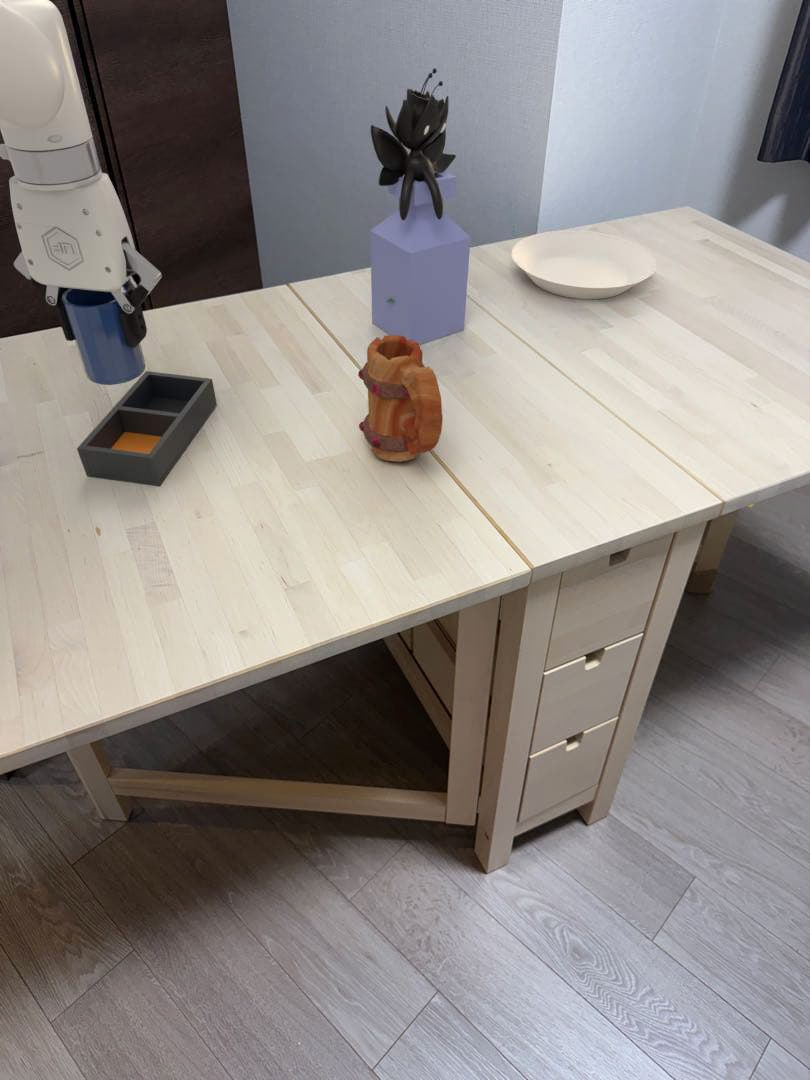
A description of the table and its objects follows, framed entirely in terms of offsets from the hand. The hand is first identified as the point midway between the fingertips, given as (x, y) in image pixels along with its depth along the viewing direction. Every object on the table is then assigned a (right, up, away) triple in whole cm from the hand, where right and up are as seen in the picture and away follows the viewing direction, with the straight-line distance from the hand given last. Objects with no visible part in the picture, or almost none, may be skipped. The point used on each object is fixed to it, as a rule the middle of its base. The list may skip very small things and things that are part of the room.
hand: (106, 337), depth 81 cm
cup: (0, -3, +3) cm, 4 cm away
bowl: (+64, +25, +52) cm, 86 cm away
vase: (+34, +12, +37) cm, 52 cm away
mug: (+32, -12, +11) cm, 36 cm away
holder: (+1, -9, +14) cm, 17 cm away
